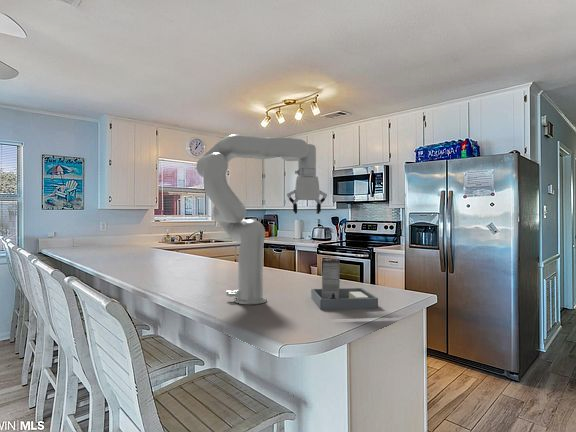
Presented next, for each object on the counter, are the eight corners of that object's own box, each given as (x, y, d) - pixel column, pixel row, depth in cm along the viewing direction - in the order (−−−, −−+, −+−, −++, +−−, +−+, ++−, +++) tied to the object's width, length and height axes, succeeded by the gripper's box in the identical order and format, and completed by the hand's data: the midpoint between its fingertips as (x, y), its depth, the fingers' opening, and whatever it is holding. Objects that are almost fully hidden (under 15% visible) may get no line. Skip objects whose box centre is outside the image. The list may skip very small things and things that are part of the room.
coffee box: (322, 299, 140) (322, 258, 140) (339, 300, 139) (339, 258, 139) (321, 305, 131) (321, 260, 131) (339, 306, 130) (339, 261, 130)
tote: (320, 312, 125) (320, 299, 125) (311, 300, 143) (311, 288, 143) (378, 311, 127) (378, 298, 127) (361, 299, 146) (361, 288, 146)
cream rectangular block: (356, 305, 131) (356, 297, 131) (348, 299, 141) (348, 291, 141) (368, 305, 131) (368, 297, 131) (360, 299, 141) (360, 291, 141)
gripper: (288, 172, 152) (287, 213, 151) (328, 172, 153) (328, 213, 153) (286, 174, 159) (285, 213, 159) (325, 175, 161) (324, 213, 161)
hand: (306, 213), depth 156 cm, fingers open, 9 cm apart
